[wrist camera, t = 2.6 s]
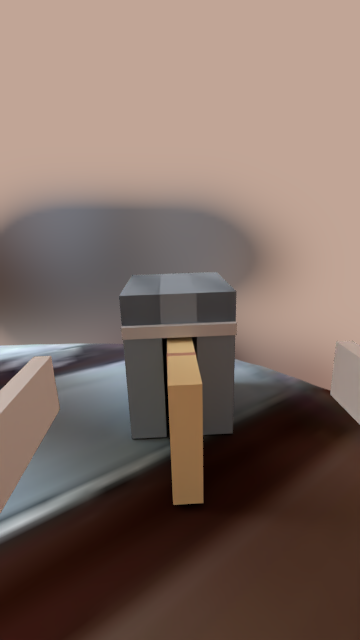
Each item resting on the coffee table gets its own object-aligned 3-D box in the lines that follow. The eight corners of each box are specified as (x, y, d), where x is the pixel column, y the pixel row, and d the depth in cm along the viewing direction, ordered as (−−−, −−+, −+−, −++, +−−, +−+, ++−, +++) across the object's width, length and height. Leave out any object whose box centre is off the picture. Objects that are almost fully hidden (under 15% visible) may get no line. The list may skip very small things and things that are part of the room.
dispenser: (233, 436, 34) (237, 292, 29) (131, 442, 34) (118, 297, 29) (216, 380, 46) (216, 272, 41) (140, 384, 46) (132, 275, 41)
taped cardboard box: (203, 503, 26) (203, 384, 23) (172, 504, 26) (166, 385, 23) (190, 403, 40) (188, 321, 37) (169, 404, 40) (166, 322, 37)
